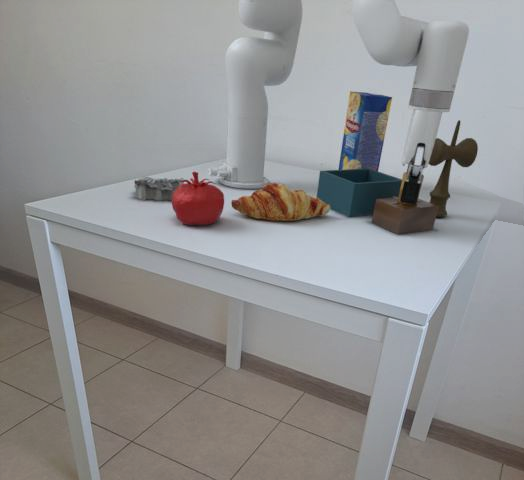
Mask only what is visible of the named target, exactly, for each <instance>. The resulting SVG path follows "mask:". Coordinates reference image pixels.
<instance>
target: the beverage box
mask: <svg viewBox="0 0 524 480" xmlns="http://www.w3.org/2000/svg"><path fill="white" fill-rule="evenodd" d="M392 100H393V97H392V96H388V95H384V94H379V93H376V92H362V91H349V97H348V104H347V109H346V117H345V124H344V130H343V136H342V143H341V150H340V157H339V162H338V163H339V164H338V169H337V170H347V169H368V168H369V169H372V170H375V171H378V172H379V169H380V163H381V159H382V152H383V147H384V142H385V138H386V131H387V126H388V121H389V116H390V111H391V106H392Z"/></svg>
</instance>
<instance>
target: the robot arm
mask: <svg viewBox="0 0 524 480" xmlns="http://www.w3.org/2000/svg"><path fill="white" fill-rule="evenodd" d="M350 9H351V14H352V18H353V21H354V24H355V26H356V29H357V32H358V35H359V36H360V38H361V41H362V43H363V45H364V47H365V49H366V51H367V53H368V54H369V56H370V58H371V59H373V60H374V62H376V63H378V64H380V65H384V66H395V67H403V68H407V67H408V68H410V67H415V73H414V78H413V83H412V88H411V92H410V95H409V96H410V97H409V101H408V107H407V108H408V109H410V110H413V111H412V114H411V118H410V121H409V125H408V129H407V135H406V139H405V144H404V149H403V154H402V159H401V165H402V166H403V167H405V166H406V165H407V168H406V172H408V173H407V177H406V181H404V185H403V189H402V194H401V198H400V202H401V203H408V204H416V203H417V199H418V195H419V191H420V186H421V183H420V182H421V177H422V175H423V172H424V170H425V169H426V168H428V166H429V164H428V163H429V160H430V157H431V154H432V151H433V147H434V144H435V140H436V138H437V136H438V133H439V128H440V125H441V121H442V116H443V113H450V111H451V107H452V103H453V98H454V94H455V90H456V88H457V87H456V86H457V82H458V79H459V78H458V77H459V75H460V71H461V67H462V62H463V58H464V55H465V50H466V47H467V43H468V39H469V33H470V28H469V25H468V24H467V23H466V22H463V21H459V20H451V19H450V20H449V19H435V20H431V21H429V22H427V21H423V20H419V19H414V18H412V17H408V16H405V15H401V13H400V11H399V9H398V6H397V3H396V1H395V0H350ZM238 16H239V19H240V21H241V23H242V24H243V25H244V26H245V27H247V28H248V29H251V30H254V31H259V32H263V33H264V34H263V37H258V36H257V37H255V36H243V37H239V38H237V39H235V40H234V41H232V42H231V43H230V44H229V46H228V48H227V50H226V53H225V60H224V63H225V64H224V65H225V74H226V81H227V96H228V97H227V99H228V100H227V101H228V102H227V137H226V138H227V140H226V141H227V142H226V162H222V165H221V166H219V167H209V168H208V169H207V173H208V176H209V177H218V178H219V182H220V183H221V184H222V185H224V186H227V187H230V188H235V189H236V188H237V189H246V190H254V189H255V190H256V189H263V187H265V186H266V185H268V184H269V183H270V179H269V178H268V177H265V176H264V175H265V159H266V148H267V147H266V145H267V131H268V119H269V117H268V116H269V102H268V97H267V93H266V89H265V87H272V86H273V87H275V86H279V85H282V84H284V83H286V81H287V80H288V79H289V77H290V75H291V73H292V70H293V67H294V63H295V57H296V52H297V49H298V48H297V47H298V42H299V37H300V31H301V27H302V26H301V25H302V20H303V2H302V0H238ZM408 181H409V182H408ZM421 187H422V186H421ZM420 192H421V191H420ZM419 196H420V195H419Z"/></svg>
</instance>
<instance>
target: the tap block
mask: <svg viewBox="0 0 524 480" xmlns="http://www.w3.org/2000/svg"><path fill="white" fill-rule="evenodd" d="M438 208H439V206H437V205H435V204H432V203H430V201H426V200H424V199H421V198H419V199H418V203H417V204H415V205H408V204H403V203H400V202H398V197H395V196H393V198H382V199H376V202H375V208H374V213H373V215H372V218H371V223H372V224H373V225H376V226H378V227H380V228H383V229H385V230H387V231H389V232H391V233H393V234H395V235H404V234H412V233H418V232H419V233H420V232H427V231H433V230H434V226H435V223H436V218H437V217H436V215H437V212H438Z"/></svg>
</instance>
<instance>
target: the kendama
mask: <svg viewBox="0 0 524 480" xmlns="http://www.w3.org/2000/svg"><path fill="white" fill-rule="evenodd" d="M460 127H461V120H460V119H459V120H457V122H456V125H455V127H454V131H453V135H452V138H451V142H450V144H447V143H446V142H445V141H444V140H443V139H441V138H439V137H436V140H435V144H434V147H433V151H432V154H431V157H430V160H429V163H428V166H431V167H436V166H438V165H440V164H442V163H443V162H444V164H443V167H442V170H441V173H440V175H439V178H438V179H437V182H436V184H435V187H434V188H433V190H431V191H430V192H429V197H430V200H429V203H432V204H435V205H437V206H439V208H438V212H437V215H436V218H444V217H446V216H447V215H448V211H447V202H448V200H449V199H451V194H450V192H449V184H450V177H451V176H450V175H451V170H452V164H453V160H454V161H455V162H456V164H457V165H458V166H460V167H462V168H469V167H471V166H472V165H473V164H474V163H475V161H476V158H477V156H478V151H479V146H478V142H477V141H476V140H475V139H474V138H472V137H466V138H465V139H463V140H461V141H460V142H458V143H457V140H458V137H459V133H460Z"/></svg>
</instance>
